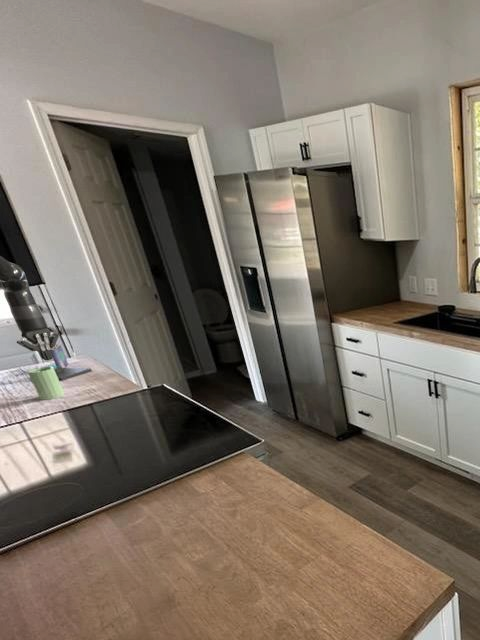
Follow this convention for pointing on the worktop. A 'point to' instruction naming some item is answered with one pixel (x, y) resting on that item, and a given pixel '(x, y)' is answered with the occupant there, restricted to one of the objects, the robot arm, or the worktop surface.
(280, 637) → the worktop surface
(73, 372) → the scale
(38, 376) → the cup
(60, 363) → the french fries carton
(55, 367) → the tare button
